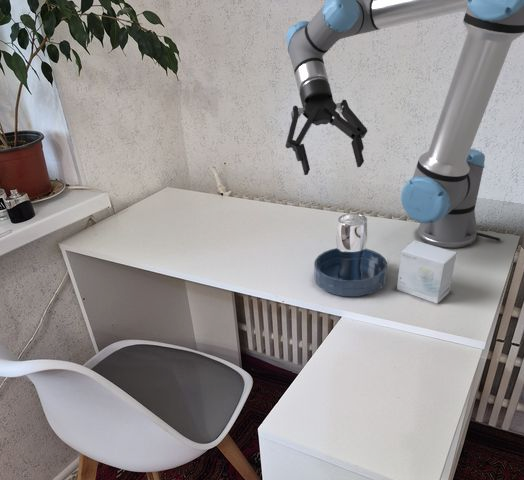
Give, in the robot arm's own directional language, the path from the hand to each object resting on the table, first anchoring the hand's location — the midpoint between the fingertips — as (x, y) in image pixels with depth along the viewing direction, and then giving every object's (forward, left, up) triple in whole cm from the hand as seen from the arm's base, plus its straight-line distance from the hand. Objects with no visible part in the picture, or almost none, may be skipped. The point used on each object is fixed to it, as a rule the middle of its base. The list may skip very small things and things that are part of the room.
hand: (334, 168), depth 121 cm
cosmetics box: (-22, +17, -23) cm, 36 cm away
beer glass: (-5, +13, -22) cm, 26 cm away
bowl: (-5, +13, -23) cm, 27 cm away
